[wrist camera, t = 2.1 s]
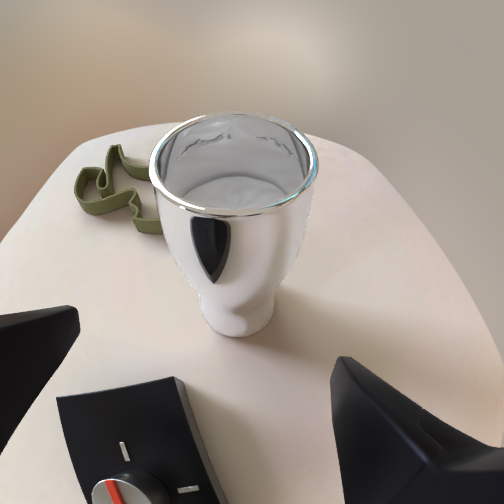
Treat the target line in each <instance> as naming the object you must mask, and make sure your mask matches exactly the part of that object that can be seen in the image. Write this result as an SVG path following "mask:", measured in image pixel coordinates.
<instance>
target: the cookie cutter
mask: <svg viewBox="0 0 504 504" xmlns="http://www.w3.org/2000/svg"><path fill="white" fill-rule="evenodd" d="M119 157H120V158H121V161H122V163H123V166H124V169H125V170H126V172H127V173H128V174H129V175H131V176H132V177H134V178H136V179H139V180H144V181H151V179H150V175H149V167H142V166H136V165H133V164H131V163H129V162H127V161H126V160H125V159H124V154H123V151H122V148H121V145H120V144H118V145H111V147H110V148H109V150H108V153H107V156H106V163H105V171H106V174H105V172H104V169H102V168H98V167H85V168H82V170H81V171H80V173H79V175H78V177H77V179H76V182H75V186H74V193H75V196H76V198H77V200H78V202H79V203H80V205H81V207H82V208H83V210H84V211H85V212H86V213H88V214H92V215H100V214H105V213H108V212H111V211H114V210H117V209H119V208H122V207H124V206H127V205H130V208H131V210H132V212H133V215H134V217H133V221H134V223H135V225H136V228H137V230H138V231H139V232H144V233H151V234H164V233H163V230H162V226H161V223H160V219H144V218H142V216H141V214H140V211H139V209H140V207H141V202H140V199H139V196H138V194H137V191H136V189H133V188H131V189H127V190H124V191H121V192H118V193H116V194H114V191H113V183H112V168H113V164H114V161H115V159H116V158H119ZM89 180H96V187H97V189H98V191H99V193H100V195H101V197H102V199H100V200H96V201H84V200H82V196H83V191H84V189H85V186H86V184H87V183H88V181H89Z"/></svg>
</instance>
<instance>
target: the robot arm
mask: <svg viewBox="0 0 504 504" xmlns="http://www.w3.org/2000/svg"><path fill="white" fill-rule="evenodd" d="M79 334H80V322H79V315H78V310H77V309H76V308H75V307H72V306H69V305H65V306H59V307H53V308H46V309H40V310H33V311H26V312H20V313H13V314H6V315H0V455H1V453H2V451H3V450H4V448H5V446H6V445H7V443H8V441H9V439H10V438H11V436H12V434H13V433H14V431H15V429H16V428H17V426H18V425H19V423H20V422H21V420H22V419H23V417H24V415H25V414H26V412H27V411H28V409H29V408H30V406H31V405H32V404H33V402H34V401H35V399H36V398H37V396H38V395H39V393H40V392H41V391H42V389H43V388H44V386H45V385H46V384H47V382H48V381H49V379H50V378H51V377H52V375H53V374H54V373H55V371H56V370H57V369H58V367H59V366H60V364H61V363H62V361H63V360H64V358H65V357H66V355H67V353H68V352H69V350H70V348H71V347H72V345H73V344H74V342H75V340H76V339H77V337H78V336H79ZM330 388H331V406H332V422H333V429H334V435H335V441H336V447H337V453H338V459H339V465H340V472H341V479H342V485H343V493H344V500H345V504H504V448H497V447H491V446H488V445H486V444H483V443H481V442H480V441H478V440H476V439H474V438H472V437H470V436H468V435H466V434H464V433H463V432H461V431H459V430H457V429H455V428H453V427H452V426H450V425H448V424H446V423H445V422H443V421H442V420H440V419H438V418H437V417H435V416H434V415H432V414H431V413H429V412H428V411H426V410H425V409H422V407H421V406H419V405H418V404H416V403H415V402H413V401H412V400H411V399H409V398H408V397H406V396H405V395H403V394H402V393H401V392H399V391H398V390H396V389H395V388H393V387H392V386H391V385H389V384H388V383H386V382H385V381H384V380H382V379H381V378H379V377H378V376H377V375H375V374H374V373H372V372H371V371H370V370H368V369H367V368H366V367H364V366H363V365H361V364H360V363H359V362H357V361H356V360H354V359H353V358H352V357H346V356H340V357H338V358H337V360H336V363H335V366H334V369H333V372H332V375H331V380H330Z"/></svg>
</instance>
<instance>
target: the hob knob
mask: <svg viewBox="0 0 504 504" xmlns="http://www.w3.org/2000/svg"><path fill="white" fill-rule="evenodd" d="M92 502H93V504H170V496H169V493H168V491H167V489H166V488H165V486H164V485H163V484H162V483H161V482H160V481H159V480H158V479H157V478H155V477H154V476H152V475H151V474H149V473H146V472H143V471H139V470H128V471H125V472H122V473H120V474H117V475H115V476H112V477H110V478H107V479H105V480H102V481H100V482H99V483H97V484H96V485H95V487H94V489H93V492H92Z"/></svg>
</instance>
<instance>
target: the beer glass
mask: <svg viewBox="0 0 504 504" xmlns="http://www.w3.org/2000/svg"><path fill="white" fill-rule="evenodd" d="M318 167H319V163H318V156H317V153H316V150H315V148H314V146H313V145H312V143H311V142H310V140H309V139H308V138H307V137H306V136H305V135H304V134H303V133H302V132H300V131H299V130H298V129H297V128H295V127H294V126H292V125H290V124H289V123H287V122H285V121H282V120H280V119H278V118H275V117H272V116H269V115H265V114H260V113H255V112H247V111H224V112H216V113H210V114H206V115H202V116H199V117H196V118H193V119H191V120H188V121H186V122H184V123H182V124H180V125H178V126H176V127H175V128H173V129H172V130H171V131H169V132H168V133H167V134H166V135H165V136H164V137H163V138H162V139H161V140H160V141H159V142H158V143H157V145H156V146H155V148H154V150H153V152H152V154H151V157H150V161H149V175H150V179H151V181H152V184H153V189H154V194H155V200H156V205H157V210H158V214H159V218H160V223H161V226H162V230H163V233H164V236H165V239H166V242H167V245H168V247H169V249H170V252H171V254H172V256H173V258H174V261H175V263H176V264H177V266H178V268H179V269H180V271H181V272H182V274H183V275H184V277H185V278H186V279H187V281H188V282H189V283H190V284H191V286H192V287H193V288H194V289H195V290H196V291H197V292H198V294H199V295H200V310H201V313H202V316H203V318H204V320H205V321H206V323H207V324H208V325H209V326H210V327H211V328H212V329H213V330H215V331H216V332H218V333H220V334H222V335H225V336H229V337H245V336H249V335H252V334H254V333H256V332H258V331H259V330H261V329H262V328H263V327H264V326H265V325H266V324H267V323H268V321H269V320H270V318H271V316H272V313H273V310H274V292H275V290H276V289H277V288H278V286H279V285H280V284H281V282H282V281H283V280H284V278H285V277H286V275H287V274H288V272H289V270H290V269H291V267H292V265H293V264H294V262H295V260H296V258H297V255H298V253H299V250H300V247H301V245H302V242H303V239H304V236H305V232H306V228H307V224H308V220H309V215H310V210H311V204H312V199H313V192H314V185H315V180H316V177H317V174H318Z"/></svg>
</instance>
